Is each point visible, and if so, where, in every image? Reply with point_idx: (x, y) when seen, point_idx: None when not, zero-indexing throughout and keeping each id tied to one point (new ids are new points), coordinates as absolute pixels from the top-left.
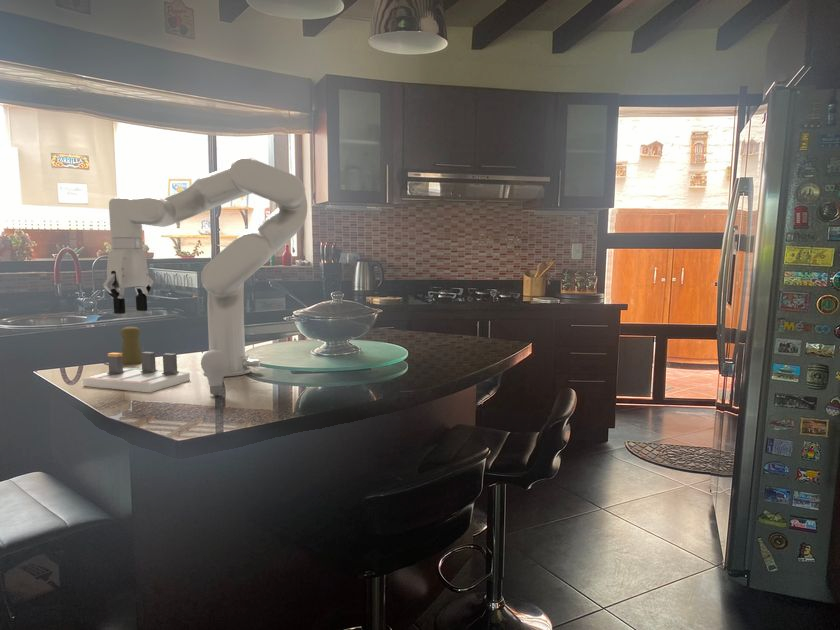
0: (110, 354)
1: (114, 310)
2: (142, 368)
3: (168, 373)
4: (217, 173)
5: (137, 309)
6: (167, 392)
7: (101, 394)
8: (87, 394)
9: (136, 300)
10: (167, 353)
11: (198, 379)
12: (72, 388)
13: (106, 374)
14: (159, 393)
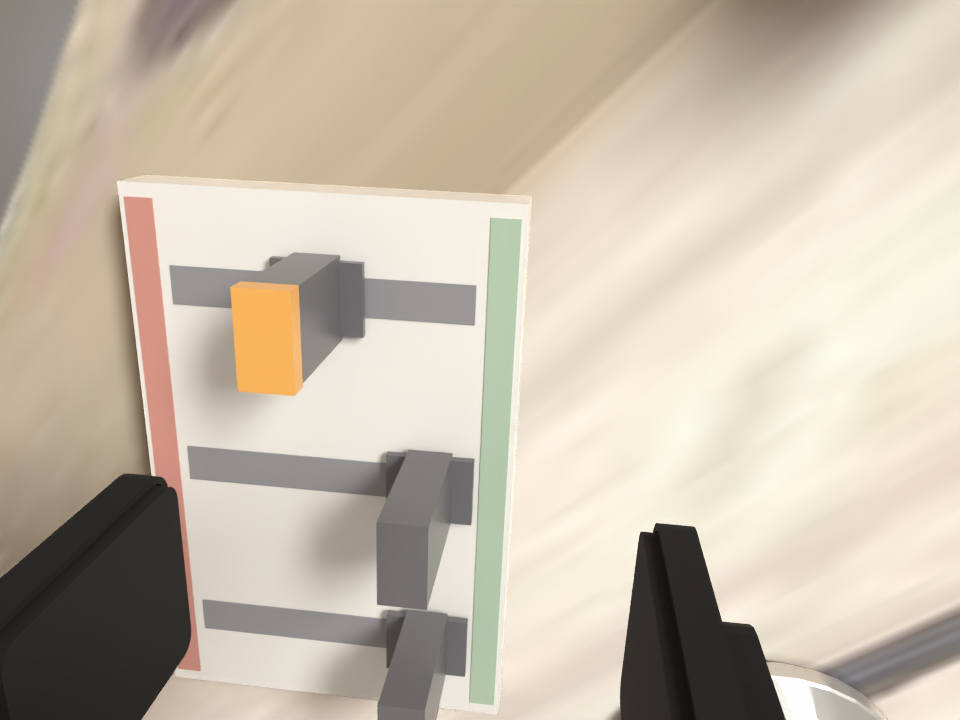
0: (235, 317)
1: (103, 501)
2: (403, 464)
3: (389, 656)
4: None
5: (641, 553)
6: (233, 716)
7: (59, 446)
8: (23, 374)
9: (656, 674)
10: (416, 718)
11: (536, 708)
12: (73, 159)
13: (270, 251)
14: (202, 694)
